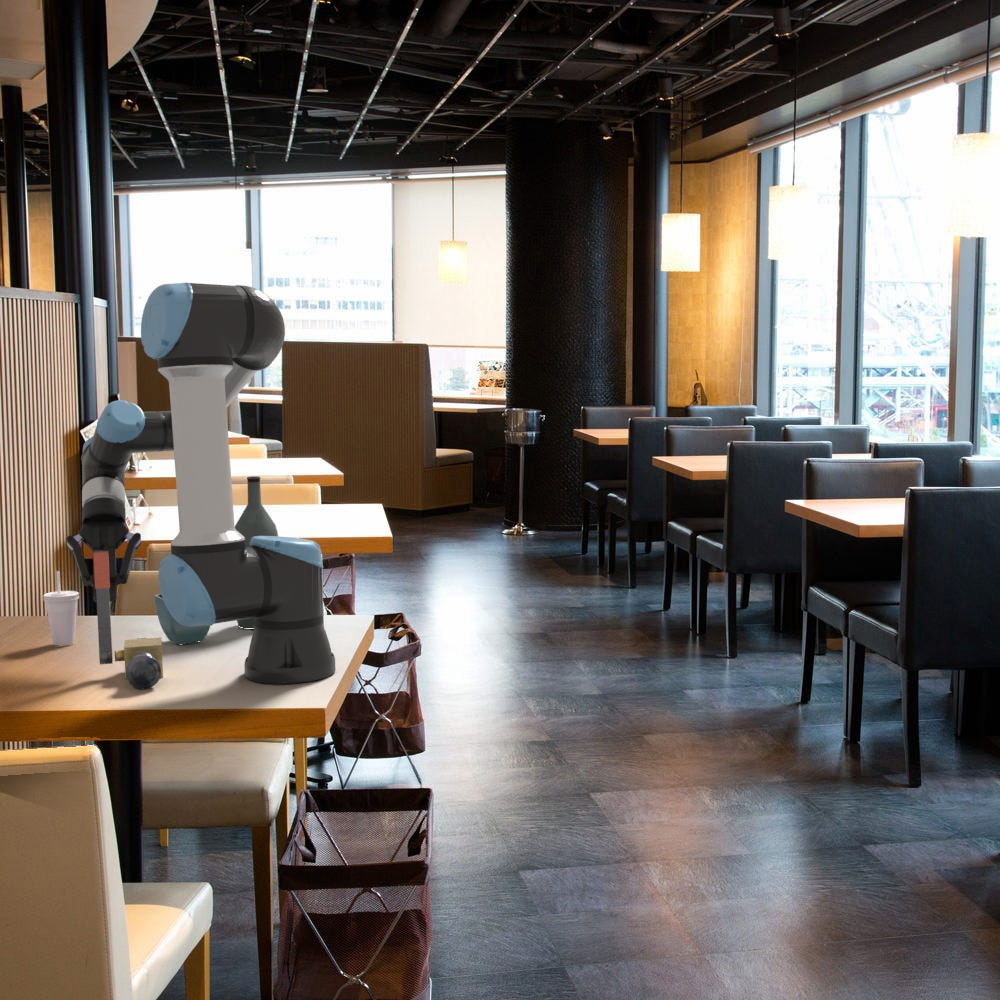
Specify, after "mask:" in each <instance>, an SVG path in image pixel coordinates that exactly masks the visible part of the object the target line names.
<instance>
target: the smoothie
mask: <svg viewBox="0 0 1000 1000" xmlns="http://www.w3.org/2000/svg"><path fill="white" fill-rule="evenodd" d="M60 574H61V573H60V571H59V570H57V571H56V587H57V589H56V590H55V591H51V592H46V593H44V594H43V599H42V600H43V602H45V609H46V613H47V617H48V624H49V628H50V634H51V639H52V645H53V644H55V645H69V646H71V645H70V644H73V643H74V644H75V640H76V639H75V637H76V624H77V612H78V611H77V610H78V600H79V598H80V596H79V595H80V594H79V592H78V591H76V590H61V577H60V576H61V575H60ZM74 644H73V645H74Z"/></svg>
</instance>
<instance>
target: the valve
mask: <svg viewBox="0 0 1000 1000" xmlns="http://www.w3.org/2000/svg"><path fill="white" fill-rule="evenodd" d="M162 645H163V643H162V637H150V638H149V637H148V638H147V637H142V638H136V639H135V638H134V639H124V645H123V649H122V650H121V649H120V650H119V649H118V650H114V661H115V662H124V671H125V672H124V676H125V677H124V678H125V681H127V682H128V683H129V685H131V686H132V687H133V688H135V689H138V690H147V689H150V688H152V687H154V686H156V684H157V683H158V682H159V680H160V678H164V668H163V649H162Z"/></svg>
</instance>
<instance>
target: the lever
mask: <svg viewBox="0 0 1000 1000" xmlns="http://www.w3.org/2000/svg"><path fill="white" fill-rule="evenodd" d="M93 556H94V576H95V589H96V597H97V602H96V613H97V614H96V615H97V632H98V655H99V656H98V657H99V658H98V659H99V665H110V664H113V662H114V661H113V659H114V658H113V642H112V641H113V640H112V622H111V621H112V620H111V601H110V597H109V588H110V576H109V556H108V551H107V550H95V551H94V552H93V551H92V557H93Z"/></svg>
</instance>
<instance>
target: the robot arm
mask: <svg viewBox="0 0 1000 1000" xmlns="http://www.w3.org/2000/svg"><path fill="white" fill-rule="evenodd" d="M140 324H141V325H140V340H141V344H142V346H143V351H144V353H145V354H146V355H147V357H149V358H151V359H153V360H157V372H159V373H160V375H162V376H163V377H164V378H165V379H167V381H168V386H169V400H170V410H161V411H157V410H155V411H143V410H142V408H141V407H140V406H138V405H137V404H135V403H134V402H129V401H127V400H123V399H122V400H121V399H118V400H114V401H111V402H109V403H108V404H106V406H104V408H103V411H102V412H101V414H100V416H99V417H98V419H97V422H96V426H95V429H94V433H93V436H91V437H90V438H88V439H86V441H85V442H84V444H83V447H82V454H81V457H80V460H81V465H82V466H81V468H82V469H81V471H82V472H81V473H82V475H81V477H82V481H81V482H82V490H81V502H82V503H81V506H82V507H81V508H82V509H81V511H82V512H81V513H82V514H81V523H82V524H81V528H80V529H79V531H78V534H76V535H74V536H73V535H67V537H66V546H67V549H68V550H69V551H70V552H71V553H72V554H73V557H74V560H75V564H76V567H77V570H78V572H79V576H80V579H81V582H82V585H83V586H84V587H89V586H91V587H92V590H93V591H92V596H93V602H94V603H97V597H96V589H95V576H94V556H93V555H92V575H91V574H90V573H89V570H88V567H87V563H86V560H85V557H84V554H83V551H82V548H81V547H82V542H83V544H84V545H86V546H87V547H88V548H89V550H91V551H92V553H93V552H94V551H95V550H107V551H108V556H109V576H110V588H109V597H110V602H117V599H118V598H117V597H118V596H117V595H118V594H117V593H118V592H117V587H118V586H119V585H126V584H127V583H128V580H129V576H130V573H131V569H132V566H133V562H134V559H135V554H136V551H137V550H138V549H139V548H140V546H141V545H142V536H141V535H142V534H141V533H140V532H135V533H133V532H131V531H130V529H129V527H128V526H127V521H126V519H127V518H126V515H127V513H126V486H125V483H126V482H125V473H126V469H127V466H128V464H129V461H130V460H131V457H132V455H133V454H141V453H144V454H145V453H159V452H173V454H174V455H173V457H174V469H175V470H174V471H175V483H176V484H175V485H176V499H177V511H178V526H179V530H178V531H179V532H178V534H177V535H175V537H174V538H173V540H172V541H171V542H170V551H171V554H168V555H166V556H165V557H164V558H162V559H161V561H160V563H159V569H158V585H159V589H160V590H159V591H160V594H162V597H163V600H164V603H165V605H166V607H167V609H168V611H169V612H170V614H171V615H172V617H173V618H174V619H175V620H176V621H177V622H178V623H180V624H182V625H184V626H188V627H192V626H202V625H205V626H210V627H211V626H213V625H215V624H221V623H228V622H234V621H235V622H237V620H242V619H249V618H254V630H252V631H253V632H252V636H251V640H250V644H249V649H248V654H247V657H245V659H244V666H243V667H244V677H245V678H246V679H247V680H250V681H252V682H256V683H263V684H273V685H274V684H276V685H278V684H282V685H284V684H288V685H289V684H298V683H299V684H300V683H301V684H302V683H307V682H312V681H319V680H321V679H325V678H327V677H330V676H332V675H333V674H335V673H336V657H335V654H334V653H333V651H332V648H331V645H330V641H329V636H328V635H327V631H326V629H325V624H324V622H325V621H324V619H325V618H324V585H323V584H324V583H323V582H324V581H323V580H324V579H323V570H324V565H323V557H322V556H323V555H322V549H321V547H320V545H319V544H318V543H317V542H316V541H314V540H312V539H311V540H310V539H307V538H306V539H305V538H298V537H288V536H279V535H278V536H254V537H252V538H251V542H250V546H251V547H246V546H245V537H244V536H243V535H242V534H240V533H239V532H238V531H237V530H236V529H235V515H234V501H233V499H234V498H233V488H232V487H233V486H232V485H233V484H232V472H231V458H230V457H231V456H230V442H229V441H230V440H229V428H228V427H229V426H228V412H227V411H228V410H227V409H228V407H229V406H230V404H231V403H232V402H234V400H235V399H236V397H237V396H238V395H239V394H240V392H242V390H243V389H244V388H245V386H246V385H247V384H248V383H249V382H250V380H251V379H252V378H253V376H254V375H256V373H257V372H258V371H263V370H265V369H267V368H268V367H270V365H271V364H272V363H273V362H274V361H275V359H276V358H277V357H278V355H279V353H281V350H282V348H283V346H284V343H285V336H286V325H285V321H284V317H283V314H282V312H281V311H280V308H279V307H278V305H277V303H276V302H275V300H273V298H271V297H270V296H269V295H267V294H266V293H265V292H263V291H261V290H260V289H257V288H255V287H252V286H249V285H241V284H240V285H239V284H236V285H230V284H228V285H227V284H213V283H210V284H209V283H200V282H199V283H198V282H197V283H196V282H195V283H193V282H181V283H177V282H175V283H163V284H161V285H158V286H156V288H154V289H153V290H152V291H151V292H150V294H149V296H148V298H147V300H146V302H145V304H144V308H143V311H142V317H141V322H140ZM124 542H126V544H127V546H126V547H125V548H126V549H125V553H124V555H123V560H122V563H121V566H120V570H119V572H118V573H117V550H118V549H119V548H120V547H121V546H122V545H123V543H124Z"/></svg>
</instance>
